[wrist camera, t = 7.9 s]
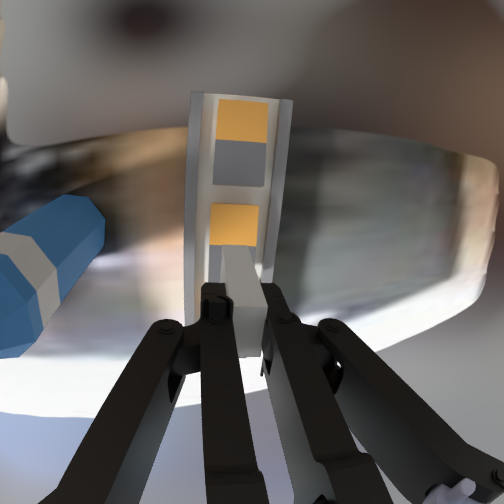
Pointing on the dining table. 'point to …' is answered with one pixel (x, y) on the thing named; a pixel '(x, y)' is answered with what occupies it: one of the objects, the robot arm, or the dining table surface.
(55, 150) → the dining table surface
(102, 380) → the dining table surface
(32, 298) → the water bottle
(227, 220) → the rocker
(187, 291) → the power strip
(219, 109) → the rocker
